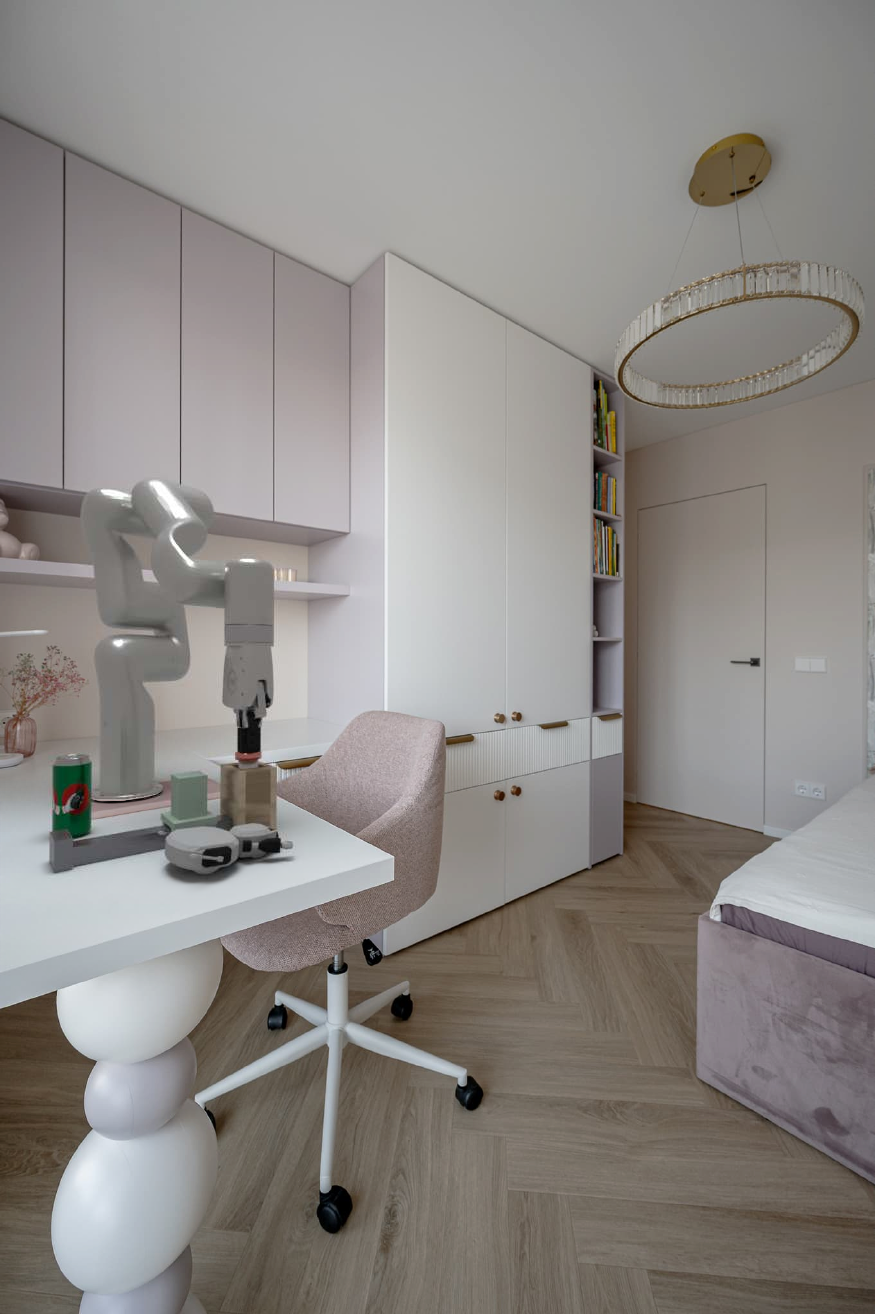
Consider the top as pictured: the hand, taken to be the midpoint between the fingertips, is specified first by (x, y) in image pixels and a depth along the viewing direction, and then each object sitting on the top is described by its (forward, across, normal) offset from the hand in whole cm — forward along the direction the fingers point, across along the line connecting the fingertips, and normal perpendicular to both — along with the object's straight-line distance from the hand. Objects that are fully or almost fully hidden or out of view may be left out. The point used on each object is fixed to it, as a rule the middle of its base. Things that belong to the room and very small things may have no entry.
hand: (249, 752), depth 90 cm
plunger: (+6, 0, 0) cm, 6 cm away
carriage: (+12, 0, -9) cm, 15 cm away
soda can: (+12, -14, -22) cm, 29 cm away
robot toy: (+13, +12, -8) cm, 19 cm away
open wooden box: (+12, 0, 0) cm, 12 cm away
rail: (+12, 0, -13) cm, 18 cm away
